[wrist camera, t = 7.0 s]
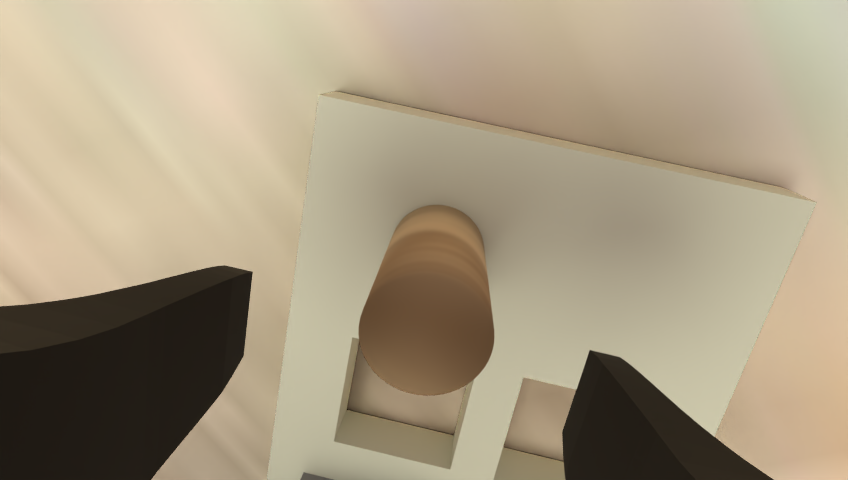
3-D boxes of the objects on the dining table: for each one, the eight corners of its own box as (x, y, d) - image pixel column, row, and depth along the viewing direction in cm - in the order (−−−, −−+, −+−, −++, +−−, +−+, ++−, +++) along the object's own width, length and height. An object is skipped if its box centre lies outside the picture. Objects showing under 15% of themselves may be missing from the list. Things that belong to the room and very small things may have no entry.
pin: (461, 307, 19) (461, 414, 13) (376, 272, 19) (339, 365, 13) (499, 226, 18) (517, 303, 12) (411, 189, 18) (387, 250, 12)
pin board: (601, 626, 25) (627, 759, 20) (270, 542, 26) (220, 653, 21) (783, 187, 19) (883, 232, 14) (335, 91, 19) (285, 102, 14)
